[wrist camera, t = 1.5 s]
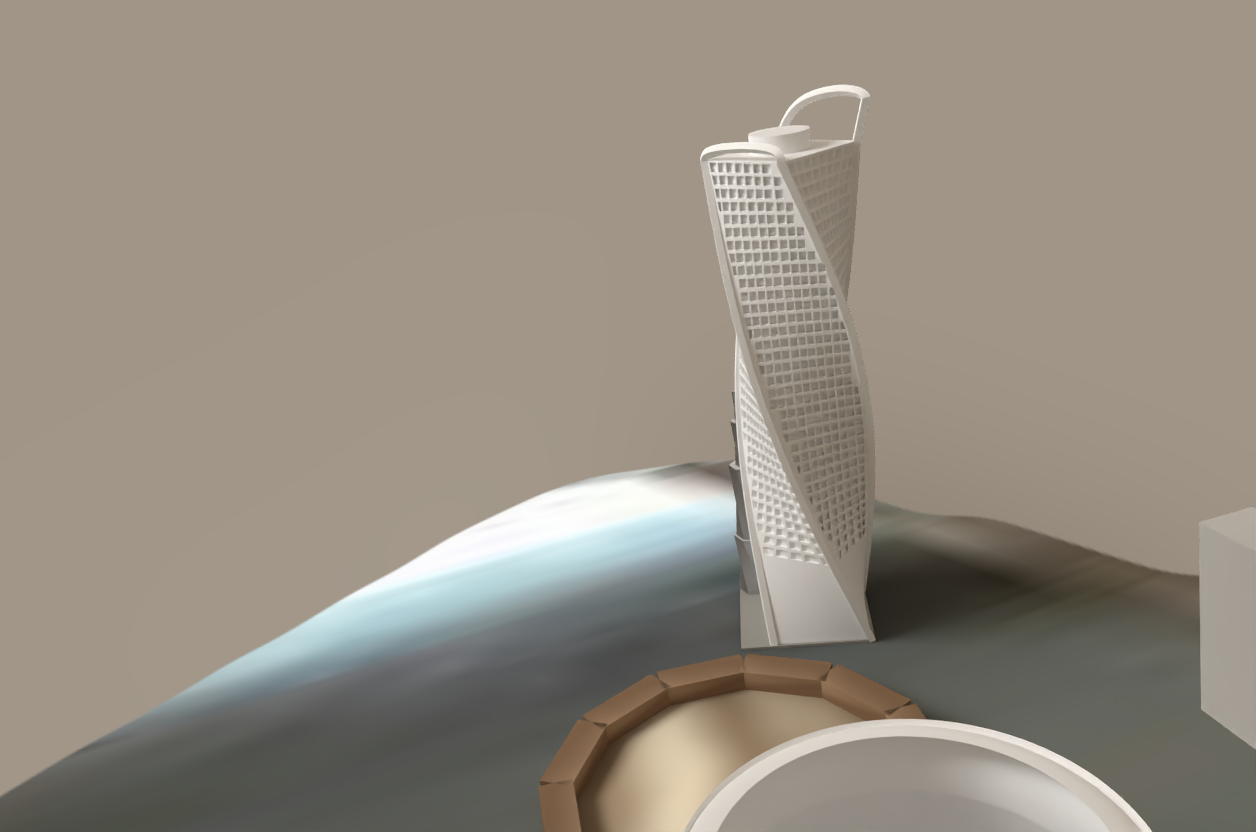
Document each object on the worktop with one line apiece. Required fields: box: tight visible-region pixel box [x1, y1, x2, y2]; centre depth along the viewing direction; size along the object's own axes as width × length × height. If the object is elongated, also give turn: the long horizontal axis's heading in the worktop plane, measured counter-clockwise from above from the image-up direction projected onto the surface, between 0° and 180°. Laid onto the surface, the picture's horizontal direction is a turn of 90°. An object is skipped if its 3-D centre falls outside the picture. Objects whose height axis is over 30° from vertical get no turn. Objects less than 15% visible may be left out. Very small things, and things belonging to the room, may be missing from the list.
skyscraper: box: [700, 85, 876, 651], centre depth 54 cm, size 8×8×28 cm
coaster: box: [538, 654, 927, 832], centre depth 46 cm, size 17×17×2 cm
